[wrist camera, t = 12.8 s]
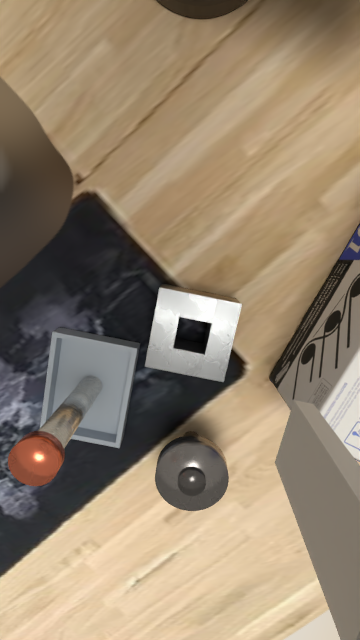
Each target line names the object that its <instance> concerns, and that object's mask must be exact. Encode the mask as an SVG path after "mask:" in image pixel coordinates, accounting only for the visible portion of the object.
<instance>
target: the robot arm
mask: <svg viewBox="0 0 360 640" xmlns="http://www.w3.org/2000/svg"><path fill="white" fill-rule="evenodd" d="M157 1H159V2H160V3H161V4H162V5H163V6H165V7H166V8H168V9H170V10H171V11H173V12H175V13H178V14H180V15H183V16H187V17H192V18H212V17H217V16H221V15H224V14H226V13H229V12H231V11H233V10H235V9H236V8H238V7H239V6H241V5H242V4H244V3H245V2H246V1H247V0H157ZM275 464H276V466H277V469H278V472H279V474H280V477H281V480H282V483H283V485H284V488H285V491H286V493H287V496H288V499H289V501H290V504H291V507H292V509H293V512H294V515H295V518H296V520H297V523H298V526H299V528H300V531H301V534H302V536H303V539H304V542H305V545H306V547H307V550H308V553H309V555H310V558H311V561H312V563H313V566H314V569H315V572H316V574H317V577H318V580H319V582H320V585H321V588H322V590H323V593H324V596H325V599H326V601H327V604H328V607H329V609H330V612H331V615H332V617H333V620H334V623H335V625H336V628H337V631H338V634H339V636H340V639H341V640H360V465H359V464H358V463H357V461H356V460H355V459H354V457H353V456H352V455H351V453H350V452H349V451H348V449H347V448H346V447H345V445H344V444H343V443H342V441H341V440H340V439H339V437H338V436H337V435H336V433H335V432H334V431H333V429H332V428H331V427H330V425H329V424H328V423H327V421H326V420H325V418H324V417H323V416H322V414H321V413H320V412H319V410H318V409H317V408H316V406H315V405H314V404H310V403H306V402H301V401H296V400H294V403H293V406H292V409H291V412H290V416H289V419H288V422H287V425H286V428H285V432H284V435H283V438H282V441H281V445H280V448H279V451H278V454H277V457H276V461H275Z"/></svg>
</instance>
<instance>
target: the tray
mask: <svg viewBox="0 0 360 640" xmlns="http://www.w3.org/2000/svg"><path fill="white" fill-rule="evenodd" d="M139 348H140V343H137V342H132V341H127V340H122V339H117V338H112V337H107V336H102V335H97V334H92V333H87V332H82V331H77V330H72V329H67V328H62V327H60V328H58V329H56V330H55V331H53V332H52V340H51V347H50V355H49V363H48V370H47V378H46V386H45V394H44V401H43V409H42V417H41V424H40V428H41V427H42V426H43V424H44V423H45V422H46V421H47V420H48V419H49V418H50V416H51V415H52V414H53V413H54V412H55V411H56V409H57V408H58V407H59V406H60V405H61V404H62V403H63V401H64V400H65V399H66V398H67V397H68V396H69V394H70V393H71V392H72V391H73V390H74V389H75V388H76V386H77V385H78V384H79V383H80V382H81V381H82V379H83V378H85V377H86V376H95V377H97V378H99V379H100V381H101V382H102V391H101V392H100V394H99V395H98V397H97V398H96V400H95V402H94V403H93V405H92V406H91V408H90V409H89V411H88V412H87V414H86V415H85V417H84V418H83V420H82V421H81V423H80V425H79V426H78V428H77V429H76V431H75V432H74V434H73V435H72V437H71V439H76V440H81V441H86V442H91V443H96V444H101V445H106V446H111V447H117V448H120V445H121V442H122V440H123V436H124V431H125V425H126V420H127V414H128V409H129V403H130V398H131V392H132V387H133V381H134V376H135V370H136V365H137V359H138V354H139Z"/></svg>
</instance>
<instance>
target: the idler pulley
mask: <svg viewBox="0 0 360 640" xmlns="http://www.w3.org/2000/svg"><path fill="white" fill-rule="evenodd" d="M228 478H229V477H228V470H227V464H226V460H225V457H224V454H223V453H222V451H221V450H220V448H219V447H218V446H217V445H216V444H214V443H213V442H212V441H210V440H208V439H206V438H203V437H200V436H199V435H198V434H197V433H196V432H193V431H190V432H187V433H185V434H184V435H183V437H179V438H177V439H175V440H173V441H171V442H170V443H168V444H167V445H166V446H165V447H164V448H163V450H162V451H161V453H160V455H159V457H158V461H157V467H156V474H155V482H156V486H157V489H158V491H159V493H160V495H161V496H162V497H163V498H164V500H165V501H167V502H168V503H169V504H171V505H172V506H174V507H176V508H179V509H182V510H187V511H198V510H203V509H206V508H208V507H211V506H212V505H214V504H215V503H217V502H218V501H219V500H220V499H221V498H222V496H223V495H224V493H225V491H226V489H227V486H228Z"/></svg>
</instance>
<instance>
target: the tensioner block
mask: <svg viewBox="0 0 360 640" xmlns="http://www.w3.org/2000/svg"><path fill="white" fill-rule="evenodd" d="M241 306H242V304H241V303H240V302H239V301H238V300H237V299H236V298H232V297H227V296H222V295H217V294H212V293H207V292H203V291H198V290H193V289H188V288H183V287H178V286H173V285H168V284H162V285H161V286H160V287H159V293H158V298H157V303H156V309H155V314H154V319H153V325H152V330H151V335H150V341H149V346H148V351H147V357H146V362H145V367H150V368H155V369H160V370H165V371H170V372H175V373H180V374H185V375H190V376H195V377H200V378H205V379H210V380H215V381H220V382H224V378H225V374H226V370H227V366H228V361H229V357H230V353H231V349H232V344H233V340H234V336H235V332H236V327H237V323H238V319H239V315H240V311H241ZM179 317H183V318H188V319H193V320H198V321H203V322H208V324H207V328H206V333H205V337H204V342H203V343H200V342H195V341H190V340H185V339H180V338H175V336H176V331H177V326H178V321H179Z"/></svg>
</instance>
